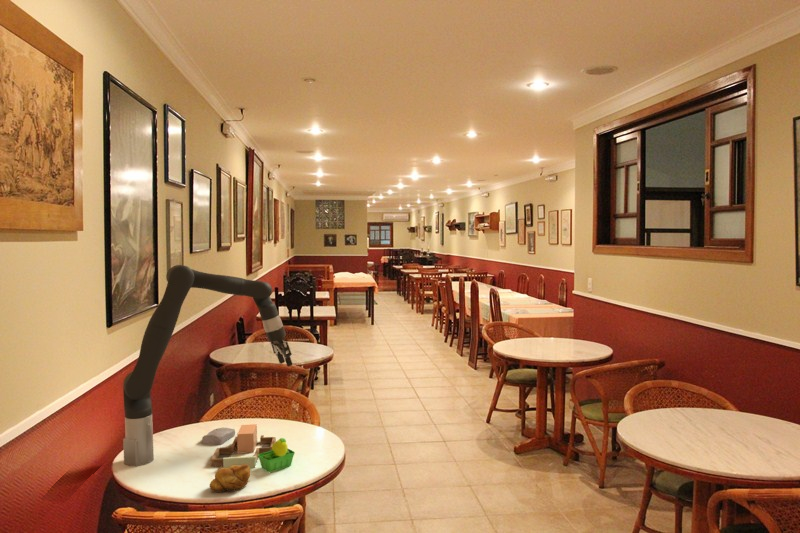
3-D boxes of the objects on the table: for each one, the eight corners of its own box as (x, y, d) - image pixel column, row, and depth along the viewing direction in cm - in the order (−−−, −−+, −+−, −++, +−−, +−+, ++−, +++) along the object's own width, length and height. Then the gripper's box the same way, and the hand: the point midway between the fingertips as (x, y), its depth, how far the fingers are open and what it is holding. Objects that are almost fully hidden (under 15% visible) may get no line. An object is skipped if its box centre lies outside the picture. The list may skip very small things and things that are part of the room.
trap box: (223, 443, 229) (222, 437, 229) (276, 440, 231) (276, 434, 231) (209, 469, 203) (209, 462, 203) (269, 466, 205) (269, 459, 205)
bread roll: (210, 497, 181) (210, 472, 181) (208, 485, 190) (207, 461, 190) (252, 489, 186) (251, 465, 186) (247, 478, 195) (247, 455, 195)
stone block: (200, 448, 229) (223, 445, 227) (198, 436, 229) (220, 433, 227) (216, 439, 240) (237, 436, 238) (214, 428, 240) (235, 424, 238)
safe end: (223, 468, 204) (223, 457, 203) (255, 466, 205) (255, 456, 205) (223, 469, 203) (223, 458, 202) (255, 468, 204) (254, 457, 204)
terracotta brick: (241, 443, 229) (241, 424, 229) (257, 442, 230) (256, 424, 229) (237, 453, 218) (237, 434, 218) (253, 452, 219) (253, 433, 219)
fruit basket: (284, 459, 211) (283, 429, 211) (298, 466, 205) (297, 435, 204) (256, 468, 203) (256, 437, 203) (270, 476, 197) (269, 444, 196)
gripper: (259, 330, 238) (272, 365, 240) (271, 332, 225) (284, 370, 228) (276, 323, 241) (288, 358, 244) (288, 325, 229) (301, 362, 232)
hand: (286, 364), depth 236 cm, fingers open, 8 cm apart
